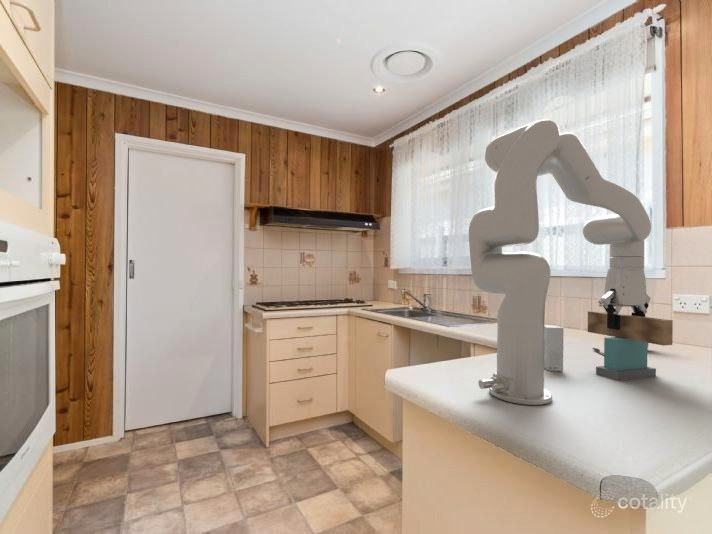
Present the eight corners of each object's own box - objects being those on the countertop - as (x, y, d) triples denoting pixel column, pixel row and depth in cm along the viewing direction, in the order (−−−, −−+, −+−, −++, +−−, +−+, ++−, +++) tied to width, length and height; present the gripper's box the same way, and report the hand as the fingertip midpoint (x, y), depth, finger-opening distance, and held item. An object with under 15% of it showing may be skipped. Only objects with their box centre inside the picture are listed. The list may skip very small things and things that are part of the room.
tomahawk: (640, 369, 108) (640, 366, 108) (614, 366, 110) (614, 362, 110) (610, 353, 129) (611, 350, 129) (589, 350, 130) (589, 347, 130)
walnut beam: (587, 331, 108) (587, 311, 108) (595, 331, 109) (595, 311, 109) (663, 345, 89) (663, 320, 89) (672, 344, 90) (672, 320, 90)
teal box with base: (618, 380, 94) (618, 341, 94) (596, 374, 99) (596, 336, 99) (655, 376, 98) (656, 338, 98) (632, 370, 104) (632, 334, 104)
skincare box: (563, 371, 101) (564, 328, 101) (547, 370, 102) (547, 327, 102) (555, 366, 107) (555, 325, 107) (539, 365, 108) (540, 324, 108)
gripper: (634, 264, 105) (634, 325, 105) (589, 263, 100) (589, 327, 99) (664, 264, 98) (663, 329, 98) (617, 263, 93) (616, 332, 92)
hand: (626, 328), depth 99 cm, fingers open, 8 cm apart
